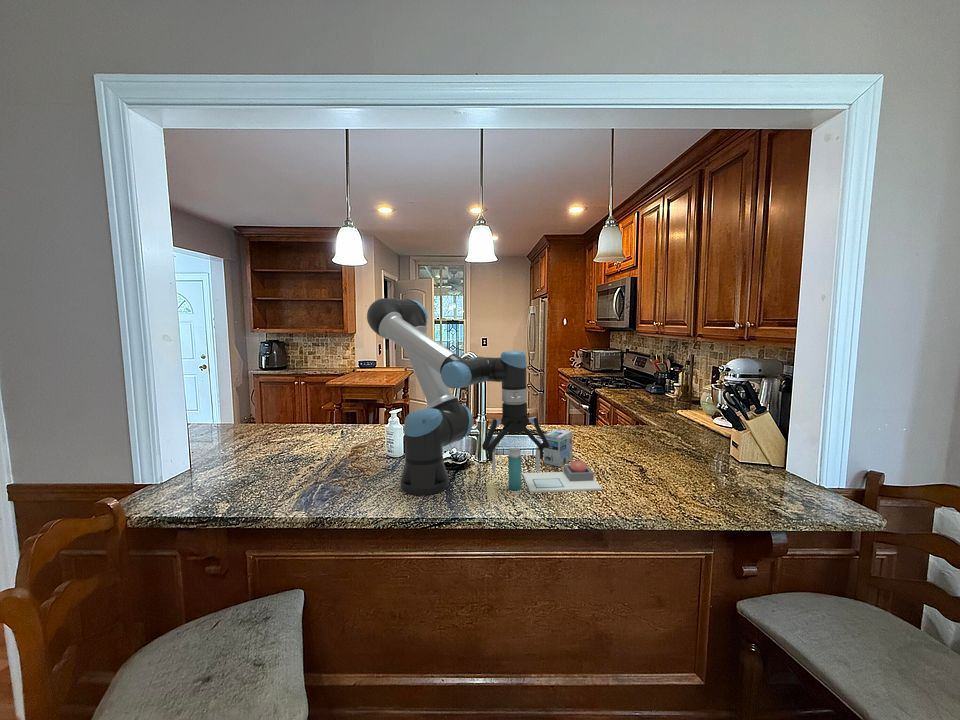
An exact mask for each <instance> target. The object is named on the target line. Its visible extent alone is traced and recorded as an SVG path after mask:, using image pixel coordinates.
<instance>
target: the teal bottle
mask: <svg viewBox="0 0 960 720" xmlns="http://www.w3.org/2000/svg"><path fill="white" fill-rule="evenodd" d="M507 458H508V459H507V460H508V461H507V463H508V464H507V465H508V467H507V468H508V469H507V470H508V473H507V474H508V475H507V476H508V477H507V478H508V479H507V480H508V486H507V487H508V489H509V490H511V491H519V490H521V489H522V455H521V449H520V448H517V447H512V448H509V449H508V456H507Z"/></svg>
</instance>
